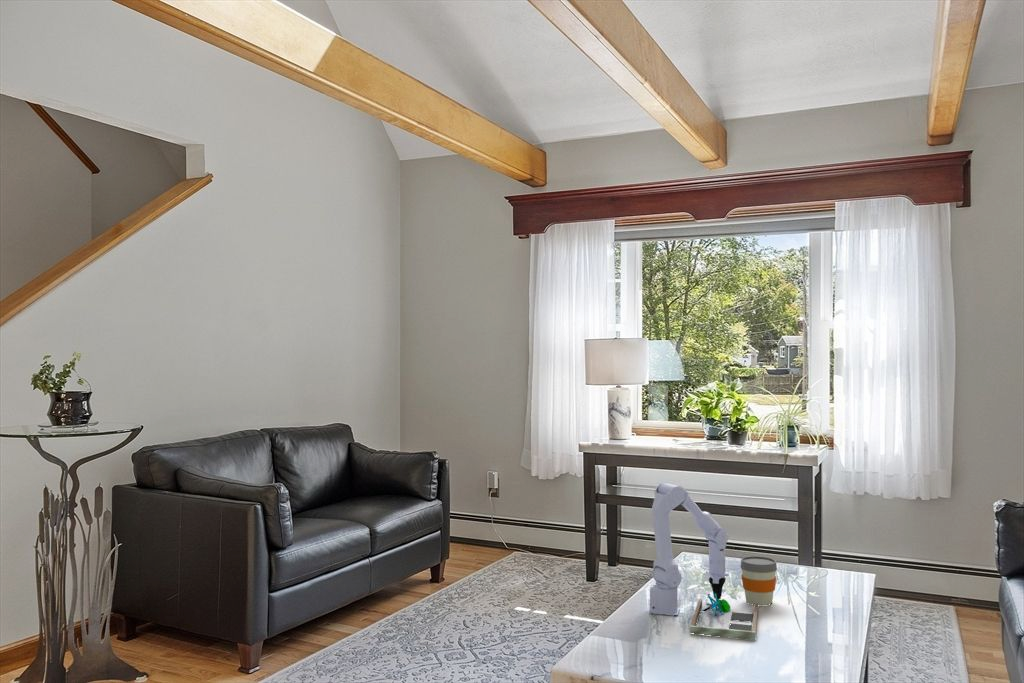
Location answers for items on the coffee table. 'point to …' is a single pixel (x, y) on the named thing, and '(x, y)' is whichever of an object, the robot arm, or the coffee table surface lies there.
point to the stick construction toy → (718, 605)
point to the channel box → (721, 631)
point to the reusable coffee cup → (758, 579)
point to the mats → (741, 618)
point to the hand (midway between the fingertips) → (717, 598)
